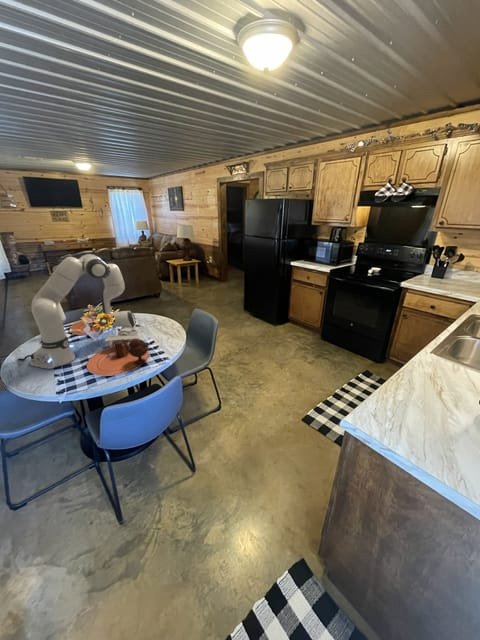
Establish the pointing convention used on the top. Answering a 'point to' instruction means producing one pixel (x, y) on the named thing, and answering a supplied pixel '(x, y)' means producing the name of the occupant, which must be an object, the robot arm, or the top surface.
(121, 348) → the eraser
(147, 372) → the top surface
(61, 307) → the champagne flute
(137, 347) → the ice cream bowl
